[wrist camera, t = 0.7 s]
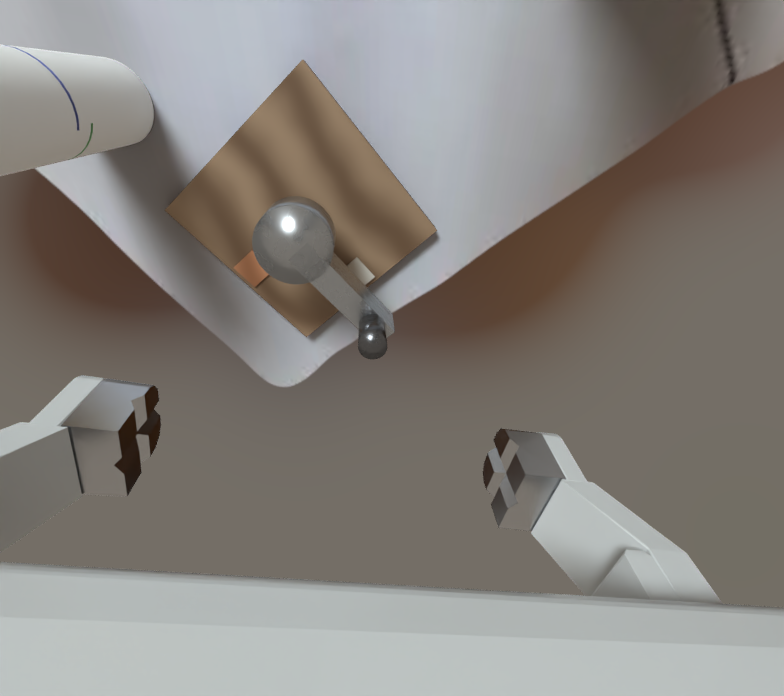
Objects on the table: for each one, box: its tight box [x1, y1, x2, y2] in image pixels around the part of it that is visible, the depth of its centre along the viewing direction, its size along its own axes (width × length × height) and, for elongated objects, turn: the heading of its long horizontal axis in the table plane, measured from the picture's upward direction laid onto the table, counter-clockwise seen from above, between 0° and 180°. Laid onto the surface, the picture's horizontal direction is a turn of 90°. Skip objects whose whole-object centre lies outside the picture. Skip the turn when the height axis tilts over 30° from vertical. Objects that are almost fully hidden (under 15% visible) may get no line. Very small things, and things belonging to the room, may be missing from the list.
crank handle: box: [252, 196, 395, 359], centre depth 39 cm, size 16×7×8 cm, turn 40°
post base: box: [165, 60, 437, 337], centre depth 44 cm, size 20×20×6 cm
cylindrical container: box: [0, 44, 154, 176], centre depth 29 cm, size 7×7×25 cm
